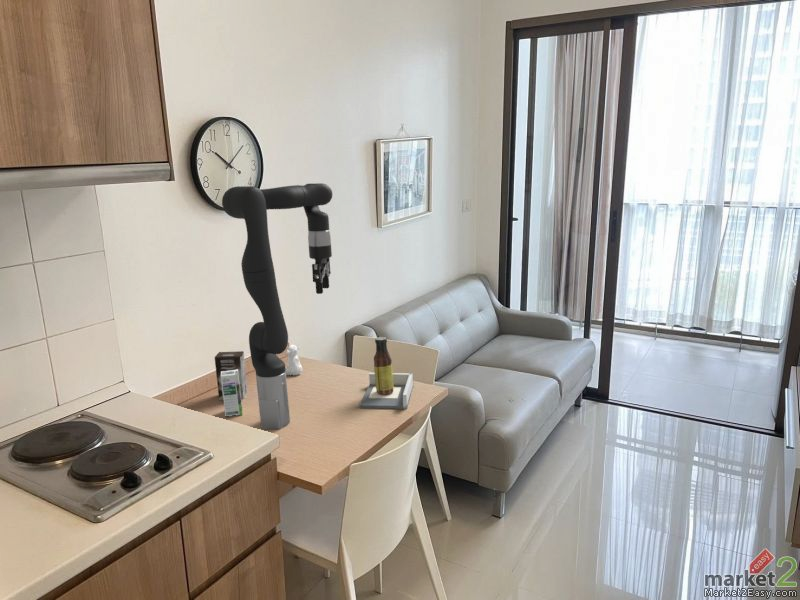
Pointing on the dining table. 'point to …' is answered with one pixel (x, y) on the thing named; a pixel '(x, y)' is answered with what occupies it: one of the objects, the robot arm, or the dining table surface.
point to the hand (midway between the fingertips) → (322, 290)
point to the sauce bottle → (383, 367)
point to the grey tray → (393, 400)
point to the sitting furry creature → (293, 361)
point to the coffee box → (231, 362)
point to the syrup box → (231, 392)
